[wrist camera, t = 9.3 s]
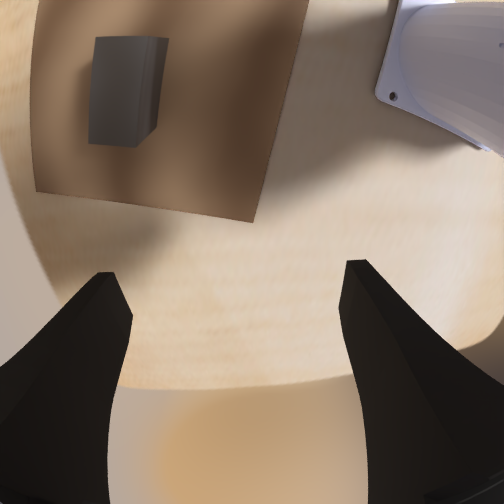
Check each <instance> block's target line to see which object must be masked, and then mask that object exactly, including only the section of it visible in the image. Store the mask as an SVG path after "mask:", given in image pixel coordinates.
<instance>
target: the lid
mask: <svg viewBox="0 0 504 504" xmlns="http://www.w3.org/2000/svg"><path fill="white" fill-rule="evenodd" d="M308 4H309V0H39V5H38V11H37V17H36V23H35V31H34V39H33V48H32V60H31V77H30V129H31V146H32V159H33V169H34V178H35V186H36V192H43V193H51V194H59V195H67V196H75V197H83V198H91V199H98V200H106V201H113V202H120V203H128V204H135V205H142V206H148V207H155V208H162V209H169V210H175V211H182V212H188V213H195V214H201V215H207V216H213V217H220V218H226V219H232V220H238V221H244V222H250V223H253V221H254V217H255V213H256V209H257V205H258V201H259V197H260V193H261V189H262V185H263V181H264V177H265V173H266V169H267V165H268V161H269V157H270V153H271V149H272V145H273V141H274V137H275V133H276V129H277V125H278V121H279V117H280V113H281V109H282V105H283V101H284V97H285V93H286V89H287V85H288V81H289V78H290V74H291V70H292V66H293V62H294V58H295V54H296V50H297V46H298V42H299V38H300V34H301V31H302V27H303V23H304V19H305V15H306V11H307V7H308Z"/></svg>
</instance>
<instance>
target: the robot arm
mask: <svg viewBox="0 0 504 504" xmlns="http://www.w3.org/2000/svg"><path fill="white" fill-rule="evenodd" d="M392 92H394V94H395V97H394V99H392V100H390V98H389V95H390V93H392ZM375 96H376V97H377V99H379V100H380V101H382V102H385V103H387V104H390V105H393V106H395V107H398V108H400V109H402V110H405V111H407V112H410V113H412V114H414V115H417V116H419V117H421V118H423V119H425V120H428V121H430V122H432V123H434V124H436V125H438V126H440V127H442V128H444V129H446V130H448V131H450V132H452V133H454V134H456V135H458V136H460V137H462V138H464V139H466V140H468V141H469V142H471V143H473V144H475V145H477V146H478V147H480V148H482V149H484V150H485V151H488V152H489V151H491V150H492V151H494V152H495V153H497V154H498V155H500V156H501V157H503V158H504V2H456V1H454V0H399V3H398V7H397V11H396V15H395V19H394V23H393V27H392V31H391V35H390V39H389V42H388V46H387V50H386V53H385V57H384V60H383V64H382V67H381V71H380V74H379V78H378V81H377V84H376V88H375ZM339 314H340V320H341V326H342V332H343V337H344V341H345V345H346V348H347V352H348V355H349V359H350V362H351V366H352V370H353V373H354V377H355V381H356V384H357V388H358V392H359V395H360V401H361V405H362V411H363V419H364V427H365V436H366V447H367V460H368V461H367V462H368V504H504V385H502V384H501V383H499V382H498V381H496V380H495V379H493V378H492V377H490V376H489V375H487V374H486V373H485V372H483V371H482V370H481V369H479V368H478V367H477V366H475V365H474V364H473V363H471V362H470V361H469V360H468V359H466V358H465V357H464V356H463V355H461V354H460V353H459V352H458V351H457V350H456V349H454V348H453V347H452V346H451V345H450V344H449V343H447V342H446V341H445V340H444V339H443V338H442V337H441V336H440V335H438V334H437V333H436V332H435V331H434V330H433V329H432V328H431V327H430V326H429V325H428V324H427V323H426V322H425V321H424V320H423V319H422V318H421V317H420V316H419V315H418V314H417V313H416V312H415V311H414V310H413V309H412V308H411V307H410V306H409V305H408V304H407V303H406V302H405V301H404V300H403V299H402V298H401V297H400V295H399V294H398V293H397V292H396V291H395V290H394V289H393V288H392V287H391V286H390V285H389V284H388V283H387V281H386V280H385V279H384V278H383V277H382V276H381V275H380V274H379V273H378V272H377V271H376V270H375V268H374V267H373V266H372V265H371V264H370V263H369V262H368V261H367V260H366V259H365V260H349V261H347V263H346V269H345V275H344V281H343V286H342V292H341V297H340V302H339ZM132 319H133V314H132V312H131V310H130V308H129V306H128V304H127V301H126V299H125V297H124V295H123V293H122V290H121V288H120V286H119V283H118V281H117V279H116V276H115V274H114V272H100V273H97V274H96V275H95V276H93V277H92V278H91V279H90V280H89V281H88V282H87V283H86V284H85V285H84V286H83V287H82V288H81V289H80V290H79V291H78V292H77V293H76V294H75V295H74V296H73V297H72V298H71V299H70V300H69V301H68V302H67V303H66V304H65V305H64V307H63V308H62V309H61V310H60V311H59V312H58V313H57V314H56V315H55V316H54V317H53V318H52V319H51V320H50V321H49V322H48V323H47V324H46V325H45V326H44V327H43V328H42V329H41V330H40V331H39V332H38V333H37V334H36V335H35V336H34V337H33V338H32V339H31V340H30V341H29V342H28V343H27V344H26V345H25V346H24V347H23V348H22V349H21V350H20V351H19V352H17V353H16V354H15V355H14V356H13V357H12V358H11V359H10V360H9V361H7V362H6V363H5V364H3V365H2V366H1V367H0V504H110V499H109V488H108V469H107V453H108V432H109V423H110V414H111V408H112V403H113V398H114V394H115V391H116V387H117V383H118V379H119V376H120V372H121V368H122V365H123V361H124V358H125V354H126V351H127V347H128V343H129V338H130V332H131V325H132Z"/></svg>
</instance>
